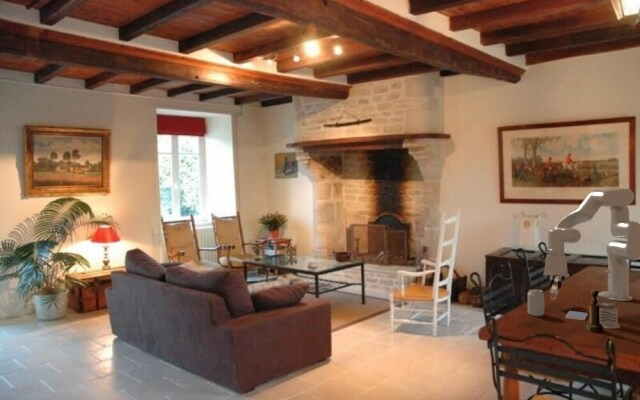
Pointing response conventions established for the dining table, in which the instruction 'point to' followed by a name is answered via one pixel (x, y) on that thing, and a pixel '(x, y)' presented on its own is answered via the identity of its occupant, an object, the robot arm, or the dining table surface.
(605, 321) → the french press
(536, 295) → the can
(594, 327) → the pepper mill
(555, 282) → the cream wooden plank
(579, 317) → the tile
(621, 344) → the dining table surface
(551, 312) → the dining table surface
